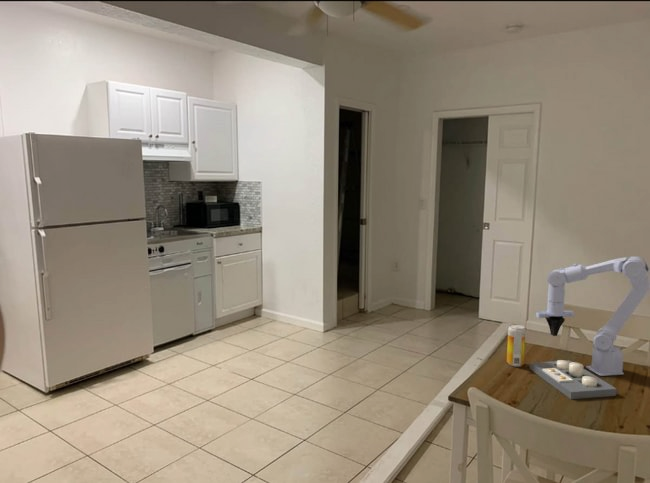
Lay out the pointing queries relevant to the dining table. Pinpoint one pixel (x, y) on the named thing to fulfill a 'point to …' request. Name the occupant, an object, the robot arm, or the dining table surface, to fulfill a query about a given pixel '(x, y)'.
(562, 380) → the tile
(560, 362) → the button
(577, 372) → the button
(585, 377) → the button
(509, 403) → the dining table surface
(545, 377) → the board
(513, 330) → the beer can
